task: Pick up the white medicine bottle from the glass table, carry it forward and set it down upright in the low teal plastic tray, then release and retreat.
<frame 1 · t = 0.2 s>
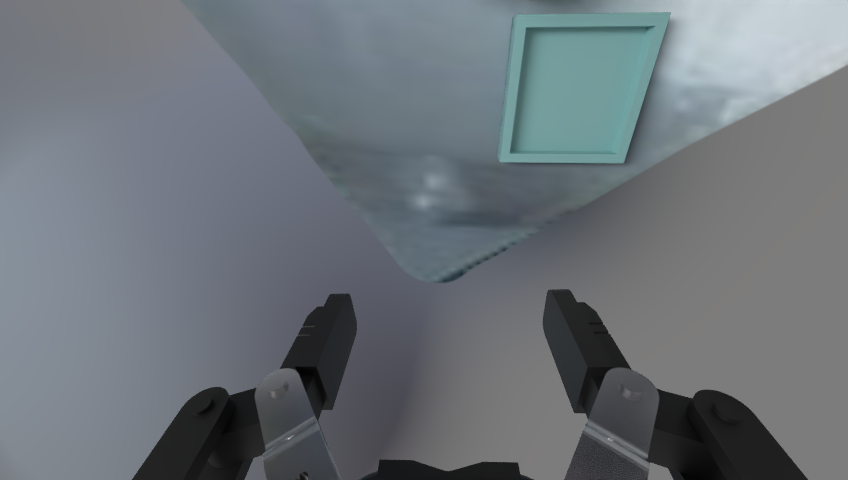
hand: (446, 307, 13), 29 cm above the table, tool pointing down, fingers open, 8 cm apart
tray: (568, 94, 34), on the table
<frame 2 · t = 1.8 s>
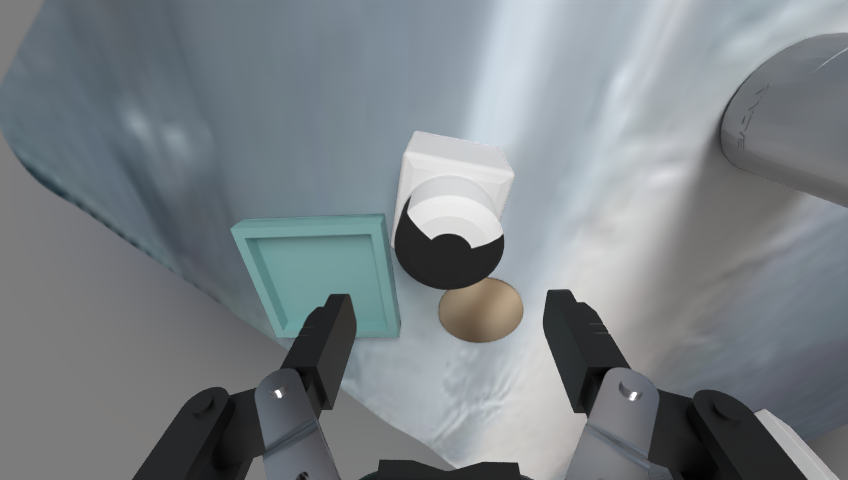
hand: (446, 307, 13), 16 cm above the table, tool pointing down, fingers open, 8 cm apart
tray: (328, 276, 33), on the table
milk: (751, 425, 41), on the table
medicine bottle: (447, 178, 27), on the table
cork coaster: (480, 310, 34), on the table
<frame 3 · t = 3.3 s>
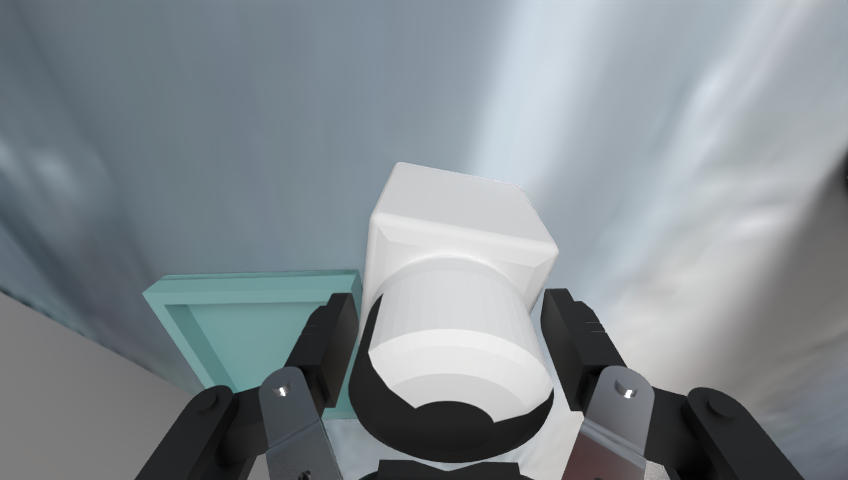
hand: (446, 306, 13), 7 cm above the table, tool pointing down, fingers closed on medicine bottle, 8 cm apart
tray: (288, 343, 25), on the table
medicine bottle: (445, 225, 19), on the table, touching gripper
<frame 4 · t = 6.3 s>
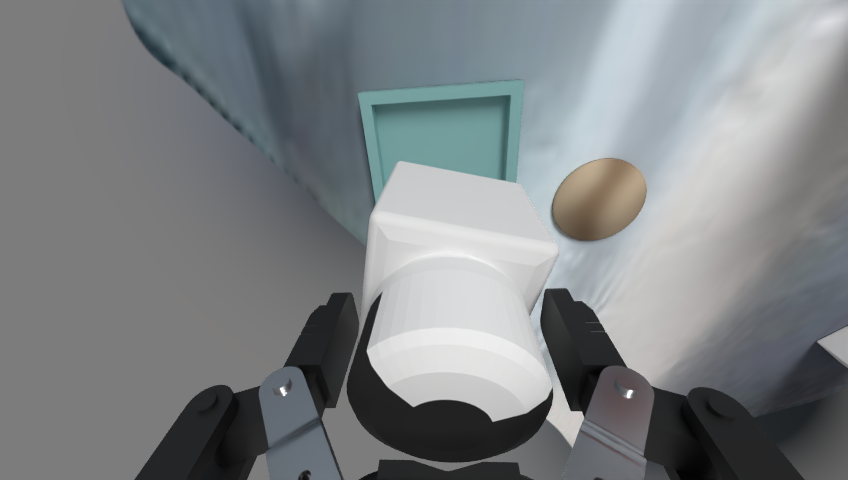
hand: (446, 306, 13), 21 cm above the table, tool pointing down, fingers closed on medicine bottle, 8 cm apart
tray: (442, 162, 31), on the table
medicine bottle: (446, 224, 19), point 14 cm above the table, touching gripper
cork coaster: (597, 201, 33), on the table
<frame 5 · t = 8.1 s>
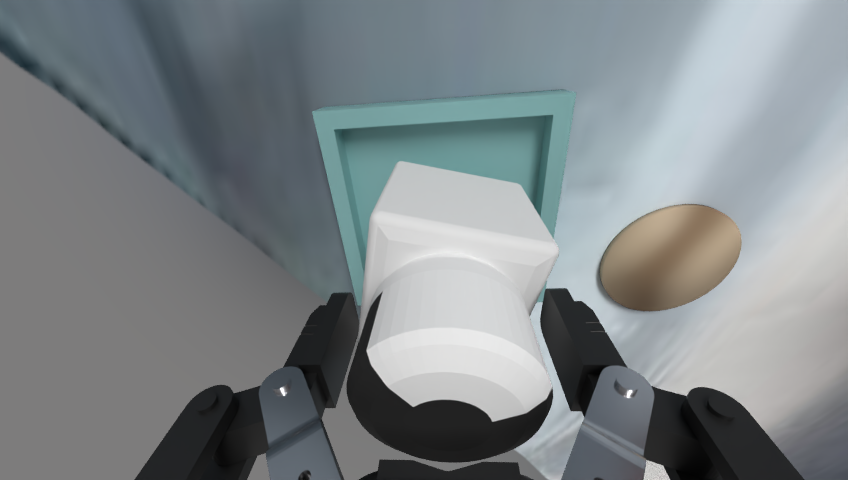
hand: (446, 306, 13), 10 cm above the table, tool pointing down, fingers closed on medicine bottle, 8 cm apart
tray: (444, 207, 22), on the table
medicine bottle: (446, 224, 19), point 3 cm above the table, touching gripper
cork coaster: (664, 260, 23), on the table
when the fingers open (9 cm above the table, at t = 9.5 s): medicine bottle drops 1 cm, resting on tray.
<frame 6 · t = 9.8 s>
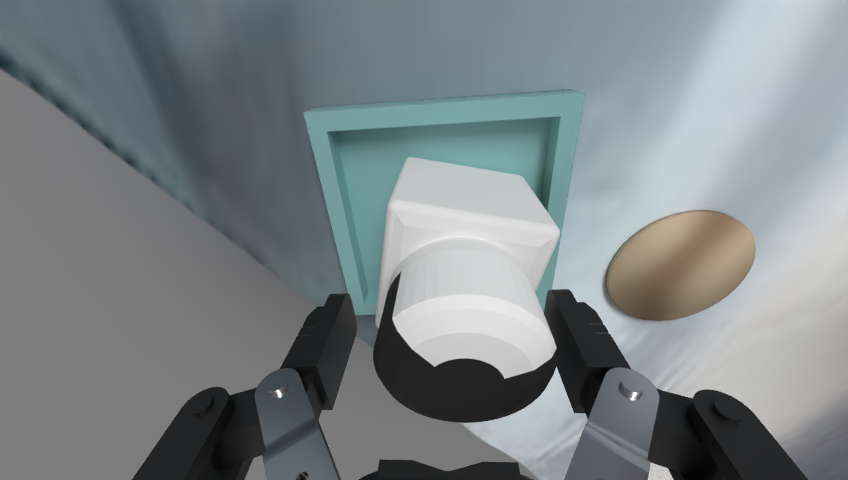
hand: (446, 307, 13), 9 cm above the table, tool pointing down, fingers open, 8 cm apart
tray: (444, 213, 21), on the table
medicine bottle: (453, 216, 20), resting on tray
cork coaster: (674, 268, 22), on the table
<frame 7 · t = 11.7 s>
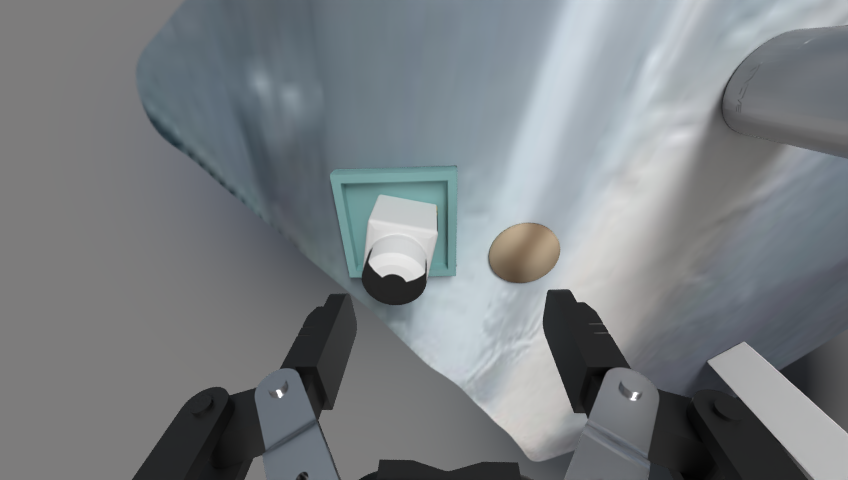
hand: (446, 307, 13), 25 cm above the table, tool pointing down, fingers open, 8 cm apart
tray: (399, 222, 39), on the table
milk: (733, 358, 50), on the table
medicine bottle: (404, 223, 39), resting on tray
cork coaster: (523, 253, 41), on the table
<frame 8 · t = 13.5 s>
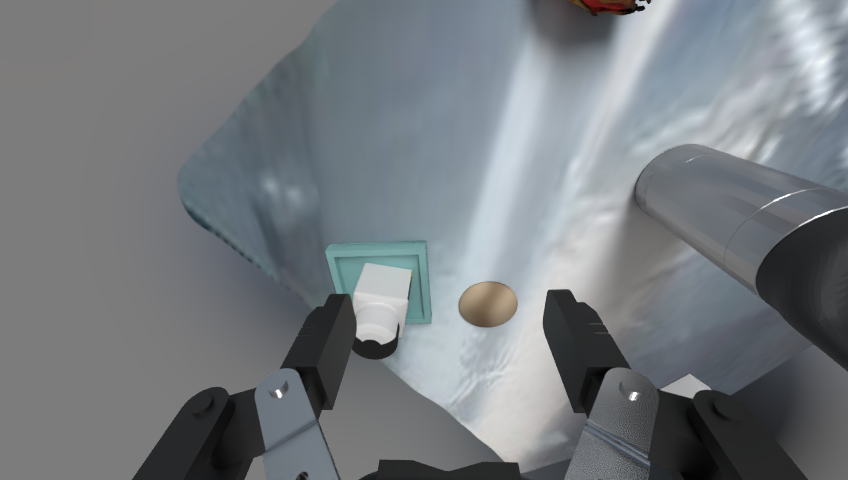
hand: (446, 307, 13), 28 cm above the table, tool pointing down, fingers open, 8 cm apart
tray: (383, 281, 48), on the table
milk: (682, 387, 57), on the table
medicine bottle: (387, 283, 47), resting on tray
cork coaster: (487, 304, 49), on the table
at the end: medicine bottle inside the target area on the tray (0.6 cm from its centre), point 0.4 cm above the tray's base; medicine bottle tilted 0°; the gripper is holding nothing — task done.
